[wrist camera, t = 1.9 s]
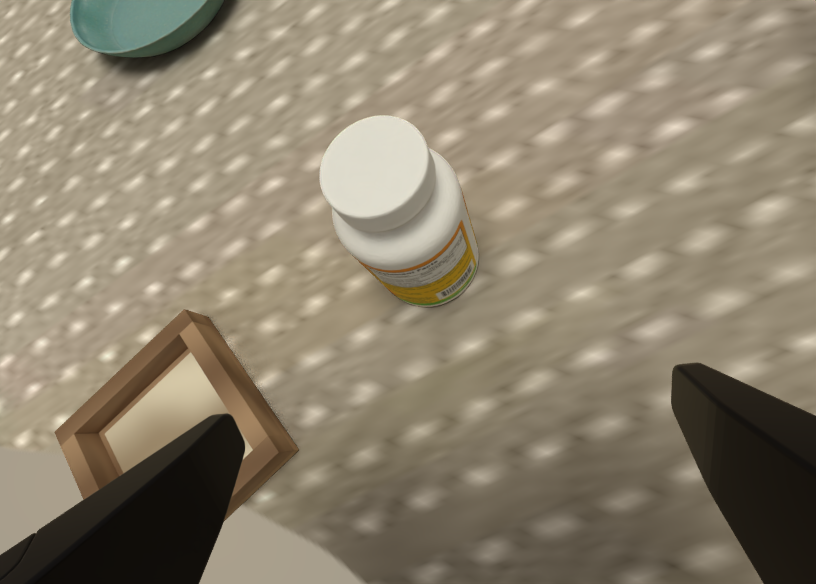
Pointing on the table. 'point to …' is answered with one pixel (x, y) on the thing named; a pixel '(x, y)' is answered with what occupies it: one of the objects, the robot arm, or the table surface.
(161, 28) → the saucer
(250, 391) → the tray
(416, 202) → the supplement bottle
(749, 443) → the robot arm
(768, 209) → the table surface
